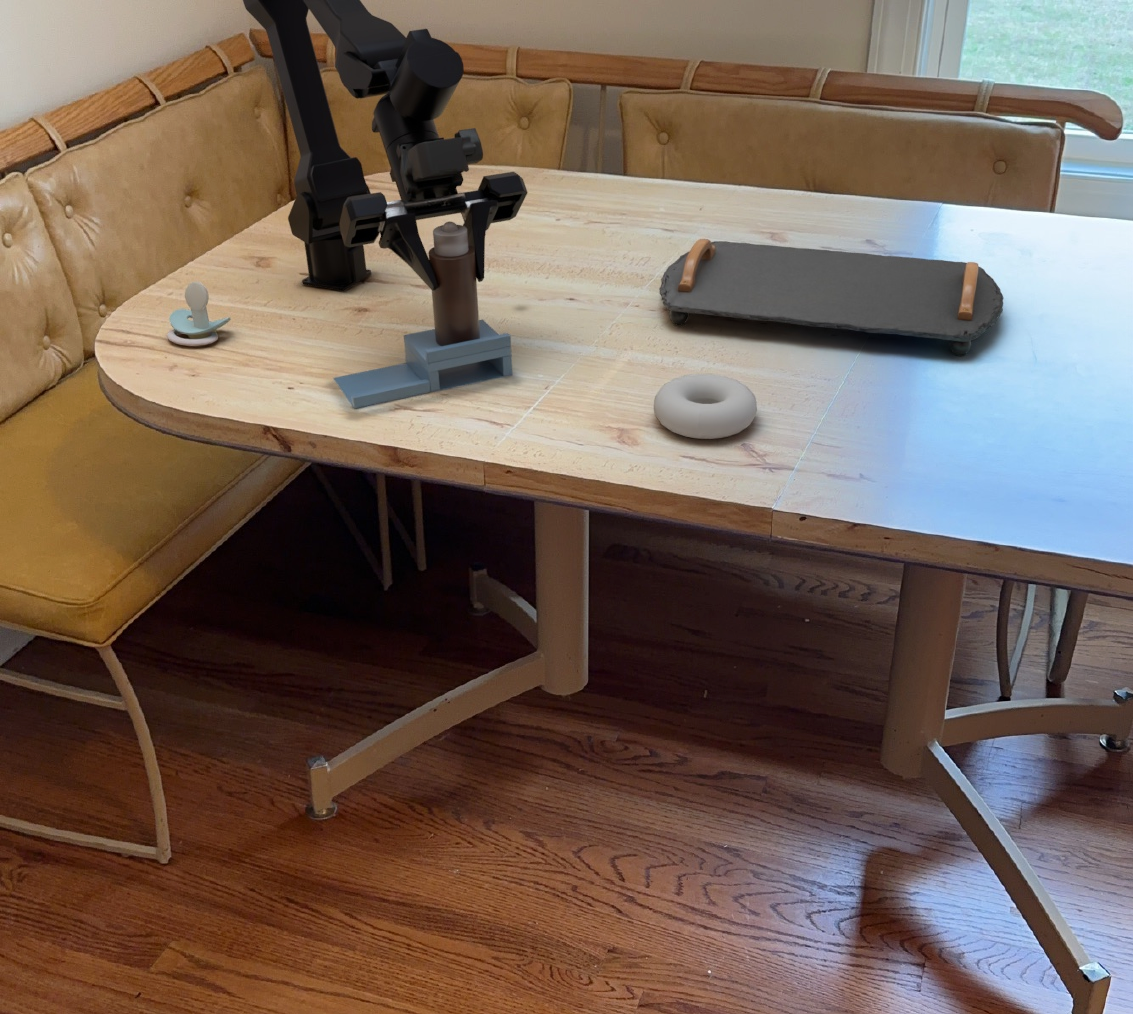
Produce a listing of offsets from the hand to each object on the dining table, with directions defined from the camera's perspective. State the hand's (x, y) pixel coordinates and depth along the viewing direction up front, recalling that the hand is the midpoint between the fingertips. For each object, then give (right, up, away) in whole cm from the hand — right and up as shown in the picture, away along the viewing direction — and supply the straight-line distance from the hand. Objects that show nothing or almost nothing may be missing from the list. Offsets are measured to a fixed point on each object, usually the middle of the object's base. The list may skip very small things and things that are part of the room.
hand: (458, 284), depth 121 cm
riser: (-4, -9, +5) cm, 11 cm away
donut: (+24, -14, -3) cm, 28 cm away
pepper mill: (0, -5, +5) cm, 7 cm away
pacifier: (-31, -3, +17) cm, 36 cm away
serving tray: (+41, +1, +20) cm, 46 cm away
